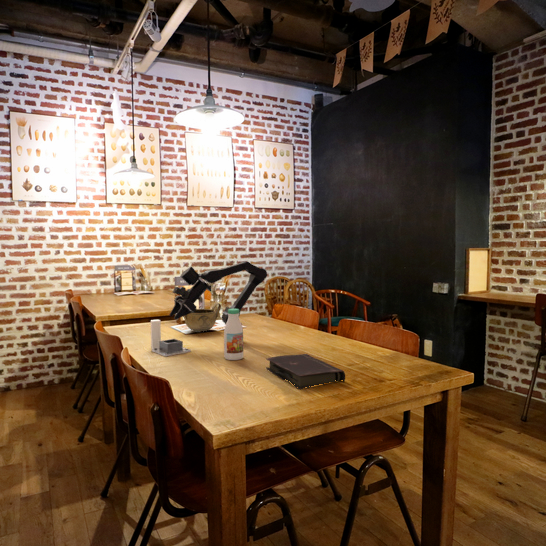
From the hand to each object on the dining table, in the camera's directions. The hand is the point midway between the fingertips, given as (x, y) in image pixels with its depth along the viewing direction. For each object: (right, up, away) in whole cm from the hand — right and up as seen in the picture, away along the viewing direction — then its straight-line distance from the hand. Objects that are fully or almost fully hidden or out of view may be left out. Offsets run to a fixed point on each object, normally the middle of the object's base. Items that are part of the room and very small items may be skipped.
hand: (172, 317), depth 193 cm
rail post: (-7, -13, -2) cm, 15 cm away
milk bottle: (+30, -15, -20) cm, 38 cm away
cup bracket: (+2, -14, -9) cm, 17 cm away
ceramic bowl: (+7, -11, +35) cm, 37 cm away
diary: (+56, -17, -43) cm, 72 cm away
